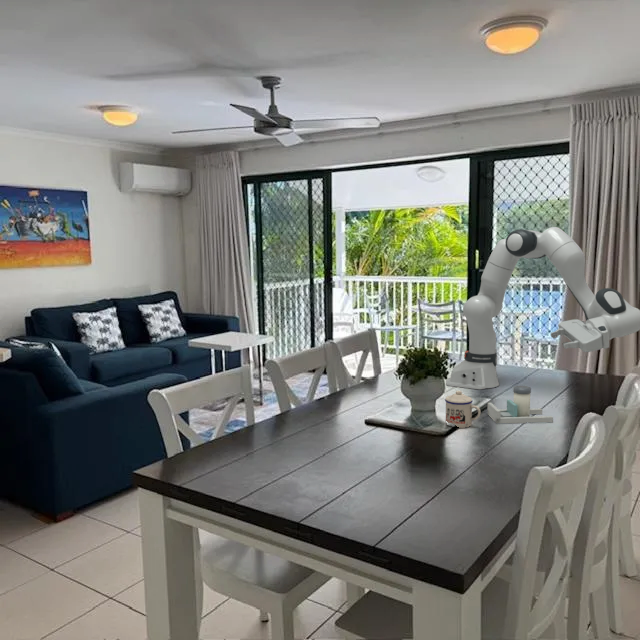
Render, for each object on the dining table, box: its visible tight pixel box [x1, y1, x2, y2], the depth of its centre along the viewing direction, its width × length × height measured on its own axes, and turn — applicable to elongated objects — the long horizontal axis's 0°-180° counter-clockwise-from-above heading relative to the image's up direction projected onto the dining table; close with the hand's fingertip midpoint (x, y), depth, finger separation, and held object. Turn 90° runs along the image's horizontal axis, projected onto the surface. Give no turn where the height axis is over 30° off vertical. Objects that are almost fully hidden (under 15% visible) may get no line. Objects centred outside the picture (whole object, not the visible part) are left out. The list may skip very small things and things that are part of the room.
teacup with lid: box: [444, 390, 481, 429], centre depth 205 cm, size 12×9×12 cm
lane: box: [487, 402, 554, 424], centre depth 212 cm, size 19×11×4 cm, turn 91°
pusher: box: [501, 399, 517, 417], centre depth 211 cm, size 4×7×6 cm, turn 1°
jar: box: [512, 385, 532, 417], centre depth 211 cm, size 6×6×11 cm
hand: (557, 340), depth 213 cm, fingers open, 8 cm apart
